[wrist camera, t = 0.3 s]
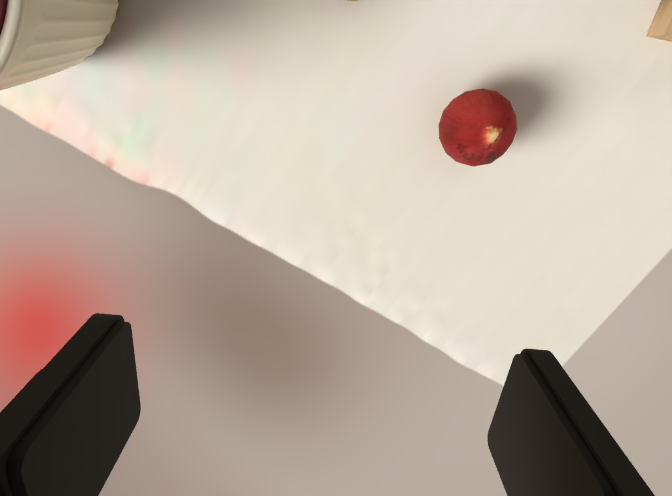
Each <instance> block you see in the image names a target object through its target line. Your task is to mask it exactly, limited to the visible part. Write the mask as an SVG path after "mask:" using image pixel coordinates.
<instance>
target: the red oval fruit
mask: <svg viewBox="0 0 672 496" xmlns="http://www.w3.org/2000/svg"><path fill="white" fill-rule="evenodd" d="M516 130H517V126H516V116H515V113H514V111H513V108H512V106H511V103H510V101H508V100H507V99H506V98H504V97H503V96H502V95H500V94H499V93H498V92H496V91H491V90H486V89H477V90H472V91H467V92H464V93H463V94H461V95H459V96H458V97H456V98H454V99H453V100H452V101H451V102H450V104H449V105H448V106H447V107H446V108H445V110H444V111H443V113H442V116H441V120H440V123H439V138H440V141H441V143H442V146H443V148H444V150H445V152H446V153H447V154H448V155H449V156H450V157H451V158H453V159H454V160H455V161H456V162H459V163H462V164H466V165H470V166H478V165H484V164H489V163H492V162H493V161H495V160H496V159H497V158H499V157H500V156H502V155H503V154H504V153H505V152H506V150H507V149H508V148H509V146H510V145H511V144H512V142H513V139H514V136H515V133H516Z"/></svg>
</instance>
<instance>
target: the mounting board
mask: <svg viewBox="0 0 672 496" xmlns="http://www.w3.org/2000/svg"><path fill="white" fill-rule="evenodd" d="M647 36H648V37H653V38H658V39H662V40H667V41H672V0H662V1H661V3H660V5H659V8H658V10H657V12H656V15H655V17H654V19H653V22H652V24H651V26H650V29H649V31H648V33H647Z"/></svg>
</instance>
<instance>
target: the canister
mask: <svg viewBox="0 0 672 496" xmlns="http://www.w3.org/2000/svg"><path fill="white" fill-rule="evenodd" d="M118 6H119V3H118V0H0V90H3V89H6V88H10V87H13V86H17V85H20V84H24V83H27V82H30V81H33V80H36V79H39V78H42V77H45V76H48V75H51V74H54V73H57V72H59V71H62V70H65V69H67V68H69V67H71V66H74V65H76V64H79V63H80V62H82V61H83V60H84V59H85V58H86V57H88V56H91V55H92V54H93V53H94V52H95V50H96V48H97V47H99V46H101V45H102V44H103V42H104V39H105V37H106V36H107V35H108V34H109V33H110V31H111V26H112V24H113V22H114V21H115V20H116V11H117V8H118Z"/></svg>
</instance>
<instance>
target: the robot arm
mask: <svg viewBox="0 0 672 496" xmlns="http://www.w3.org/2000/svg"><path fill="white" fill-rule="evenodd" d="M140 408H141V407H140V397H139V389H138V380H137V372H136V364H135V355H134V346H133V338H132V329H131V325H130V323H129V322H124V319H123V317H122V316H121V315H111V314H99V313H97V314H94V315H92V316H91V317H90V318H89V319H88V320H87V322H86V323H85V324H84V325H83V326H82V327H81V328H80V329H79V330H78V331H77V333H75V335H74V336H73V337H72V338H71V339H70V340H69V341H68V342H67V343H66V344H65V345H64V346H63V348H62V349H61V350H60V351H59V352H58V353H57V354H56V355H55V356H54V357H53V358H52V360H51V361H50V362H49V363H48V364H47V365H46V366H45V367H44V368H43V369H41V370H40V371H39V372H38V373H37V374H36V375H35V376H34V377H33V378H32V379H31V380H30V381H29V382H28V383H27V384H26V386H25V387H24V388H23V389H22V390H21V391H20V392H19V393H18V394H17V395H16V396H15V398H14V399H12V401H11V402H10V403H9V404H8V405H7V406H6V407H5V408H4V409H3V410H2V411H1V413H0V496H98V495H99V493H100V491H101V490H102V488H103V486H104V484H105V482H106V480H107V478H108V476H109V475H110V473H111V471H112V469H113V467H114V465H115V463H116V461H117V460H118V458H119V456H120V454H121V452H122V450H123V448H124V446H125V444H126V443H127V441H128V439H129V437H130V435H131V433H132V431H133V429H134V428H135V426H136V424H137V422H138V419H139V416H140ZM488 446H489V449H490V452H491V454H492V457H493V459H494V462H495V465H496V467H497V470H498V472H499V475H500V478H501V480H502V483H503V485H504V488H505V490H506V493H507V495H508V496H655V495H654V494H653V493H652V491H651V490H650V488H649V487H648V486H647V484H646V483H645V482H644V480H643V479H642V477H641V476H640V475H639V473H638V472H637V470H636V469H635V468H634V466H633V465H632V463H631V462H630V461H629V459H628V458H627V456H626V455H625V454H624V452H623V451H622V450H621V448H620V447H619V445H618V444H617V443H616V441H615V440H614V438H613V437H612V436H611V435H610V433H609V431H608V430H607V429H606V427H605V426H604V425H603V423H602V422H601V420H600V419H599V418H598V416H597V415H596V413H595V412H594V411H593V410H592V408H591V407H590V405H589V404H588V402H587V401H586V400H585V398H584V397H583V395H582V394H581V393H580V392H579V390H578V389H577V387H576V386H575V384H574V383H573V382H572V380H571V379H570V377H569V376H568V375H567V373H566V372H565V370H564V369H563V368H562V366H561V365H560V363H559V362H558V361H557V359H556V358H555V356H554V355H553V354H552V353H551V352H550V351H548V350H536V349H524V350H523V351H522V352H521V354H516V355H515V356H514V358H513V361H512V364H511V367H510V370H509V373H508V375H507V378H506V381H505V384H504V387H503V390H502V393H501V396H500V399H499V402H498V405H497V408H496V411H495V414H494V417H493V420H492V422H491V425H490V429H489V431H488Z"/></svg>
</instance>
